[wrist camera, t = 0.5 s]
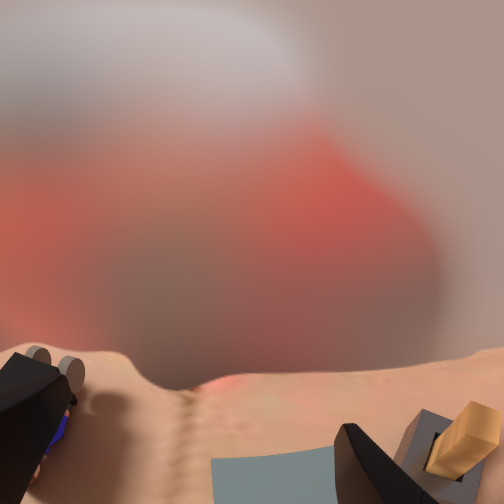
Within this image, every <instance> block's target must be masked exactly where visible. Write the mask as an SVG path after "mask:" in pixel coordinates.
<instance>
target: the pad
mask: <svg viewBox="0 0 504 504" xmlns="http://www.w3.org/2000/svg"><path fill="white" fill-rule="evenodd" d="M211 463H212V478H213V491H214V503H215V504H338V502H337V495H336V488H335V465H334V446H329V447H324V448H319V449H313V450H307V451H301V452H295V453H287V454H279V455H270V456H259V457H245V458H218V459H211Z"/></svg>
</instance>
